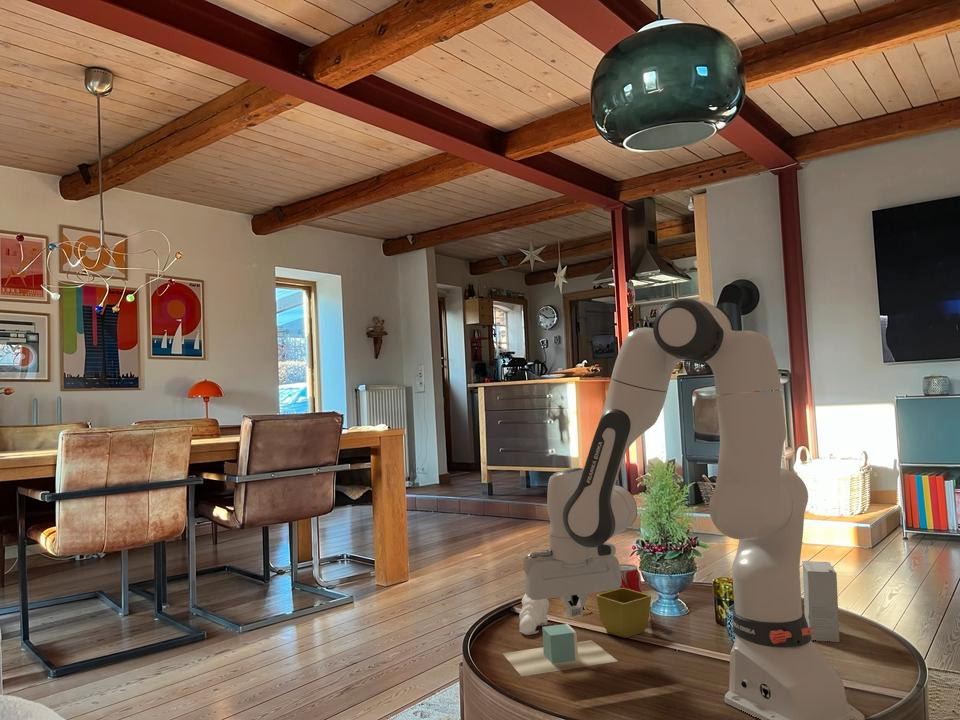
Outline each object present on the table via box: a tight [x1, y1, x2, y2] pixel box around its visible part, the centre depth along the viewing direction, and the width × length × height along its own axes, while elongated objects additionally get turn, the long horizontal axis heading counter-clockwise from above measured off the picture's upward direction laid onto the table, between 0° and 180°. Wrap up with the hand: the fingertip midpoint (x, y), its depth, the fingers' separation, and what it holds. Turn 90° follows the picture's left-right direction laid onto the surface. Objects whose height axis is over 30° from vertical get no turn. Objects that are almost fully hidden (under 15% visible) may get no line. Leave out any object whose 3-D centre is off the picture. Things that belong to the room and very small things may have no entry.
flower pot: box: [596, 588, 652, 639], centre depth 158 cm, size 9×9×9 cm
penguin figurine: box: [518, 592, 550, 636], centre depth 164 cm, size 6×8×12 cm
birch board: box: [502, 639, 619, 678], centre depth 145 cm, size 13×20×1 cm, turn 105°
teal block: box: [541, 623, 578, 664], centre depth 145 cm, size 6×6×6 cm
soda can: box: [610, 563, 643, 593], centre depth 170 cm, size 7×7×12 cm
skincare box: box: [801, 560, 840, 643], centre depth 153 cm, size 8×6×15 cm
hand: (575, 616), depth 146 cm, fingers closed
